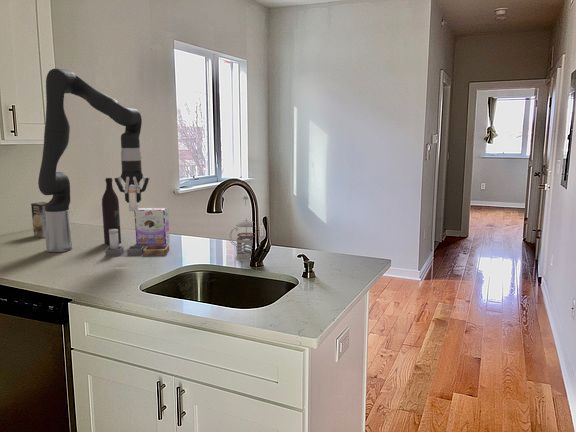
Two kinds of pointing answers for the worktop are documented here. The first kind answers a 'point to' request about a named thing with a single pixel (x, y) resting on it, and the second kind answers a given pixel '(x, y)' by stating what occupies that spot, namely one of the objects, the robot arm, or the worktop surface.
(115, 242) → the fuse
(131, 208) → the marked fuse
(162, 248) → the walnut tray
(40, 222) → the coffee box
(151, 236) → the candy box
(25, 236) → the worktop surface
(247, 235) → the french press
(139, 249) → the fuse holder
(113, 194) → the wine bottle
